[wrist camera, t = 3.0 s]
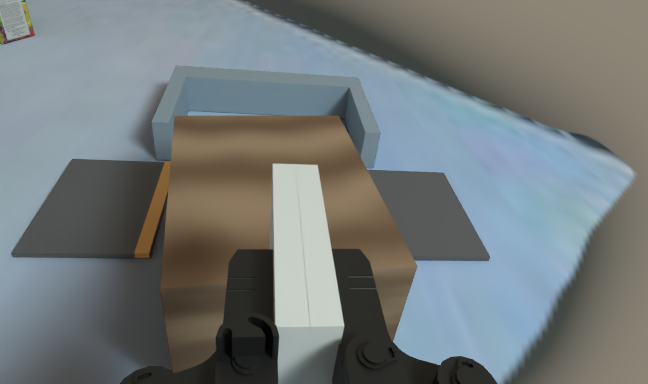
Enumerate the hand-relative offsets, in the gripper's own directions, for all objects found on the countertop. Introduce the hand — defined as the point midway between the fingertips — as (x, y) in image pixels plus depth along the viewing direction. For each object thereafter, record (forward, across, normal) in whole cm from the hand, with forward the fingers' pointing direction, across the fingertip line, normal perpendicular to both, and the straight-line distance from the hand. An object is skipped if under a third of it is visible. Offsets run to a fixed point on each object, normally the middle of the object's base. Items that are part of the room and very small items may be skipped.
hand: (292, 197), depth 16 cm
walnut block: (+10, 0, -15) cm, 18 cm away
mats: (+18, 0, -15) cm, 23 cm away
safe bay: (+32, 0, -14) cm, 35 cm away
